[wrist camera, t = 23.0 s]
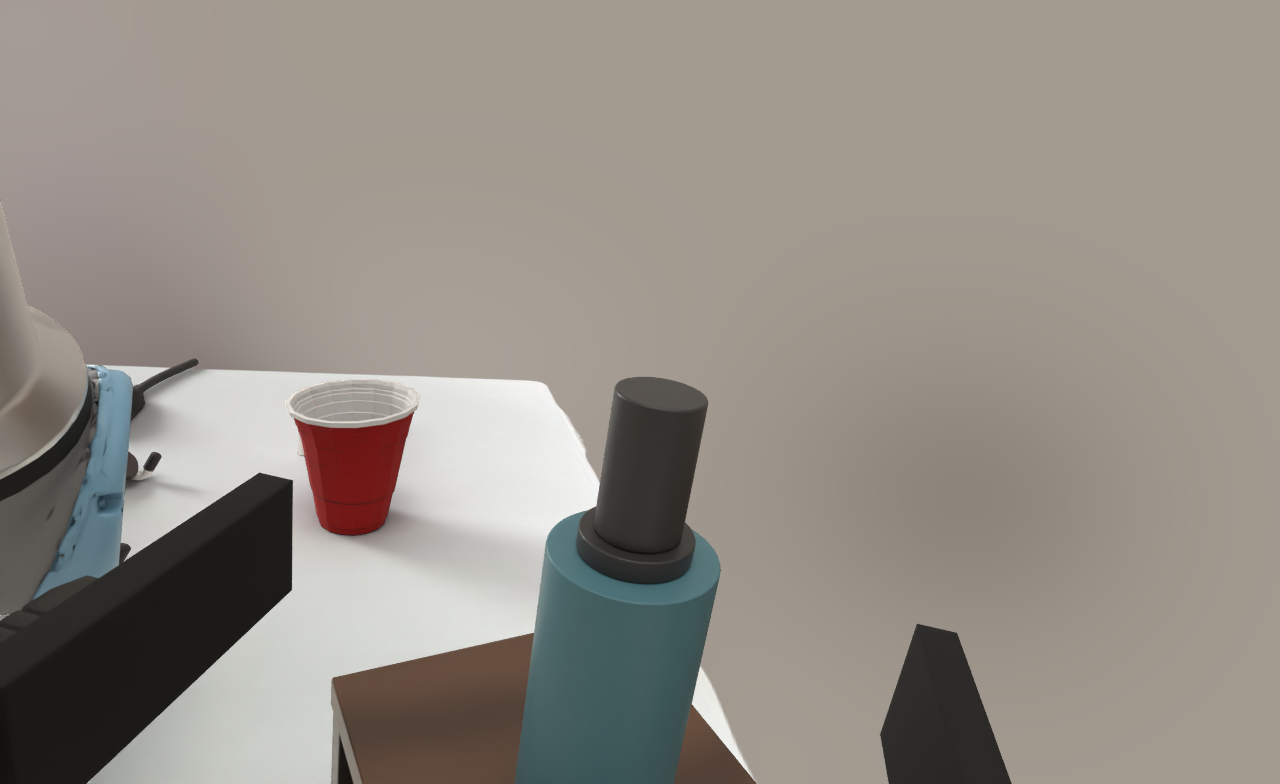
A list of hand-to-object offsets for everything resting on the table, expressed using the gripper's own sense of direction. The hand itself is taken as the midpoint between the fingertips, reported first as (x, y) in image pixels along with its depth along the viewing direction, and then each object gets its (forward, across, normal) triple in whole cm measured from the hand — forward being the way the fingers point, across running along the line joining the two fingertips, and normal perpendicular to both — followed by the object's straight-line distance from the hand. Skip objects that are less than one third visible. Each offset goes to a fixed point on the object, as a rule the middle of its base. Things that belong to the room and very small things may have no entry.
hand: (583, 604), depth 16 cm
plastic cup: (+44, -28, -29) cm, 60 cm away
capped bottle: (+10, 0, -16) cm, 19 cm away
